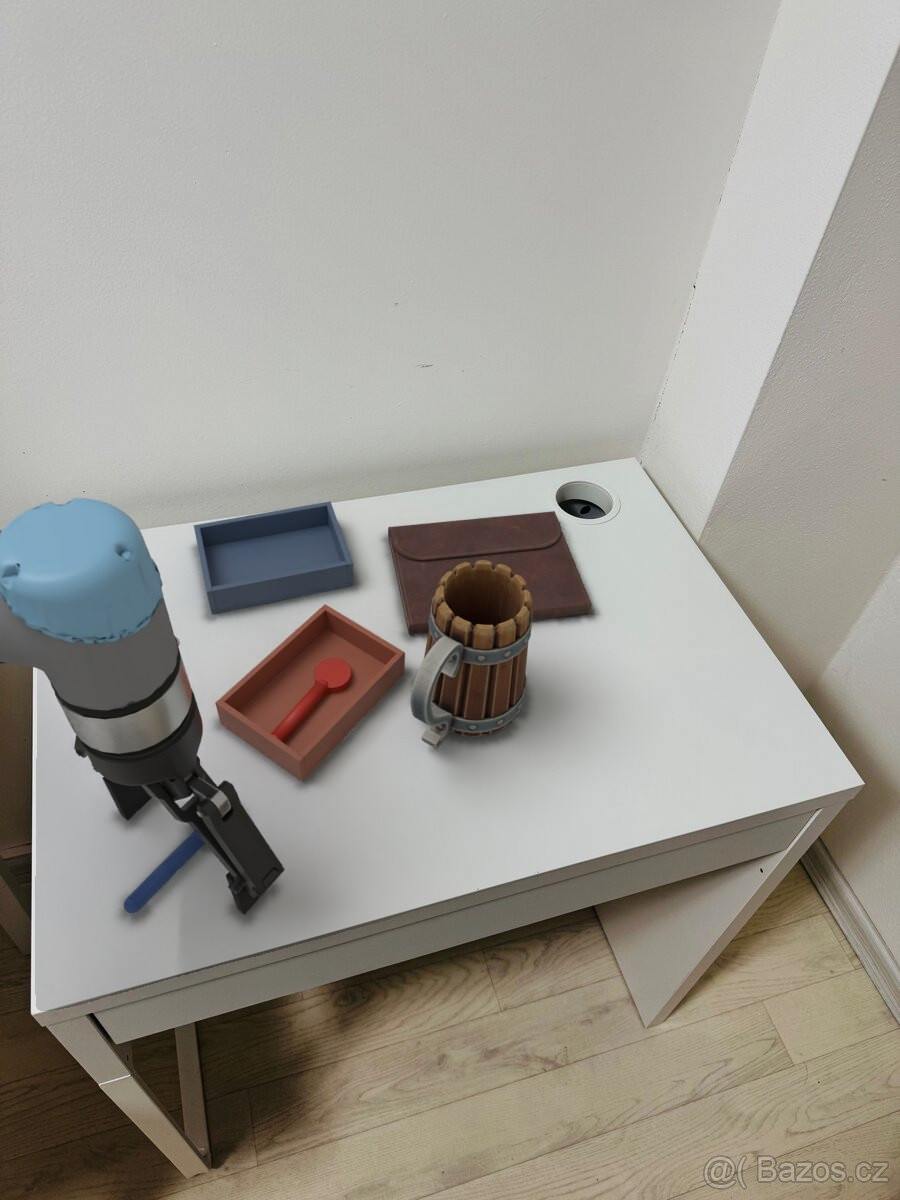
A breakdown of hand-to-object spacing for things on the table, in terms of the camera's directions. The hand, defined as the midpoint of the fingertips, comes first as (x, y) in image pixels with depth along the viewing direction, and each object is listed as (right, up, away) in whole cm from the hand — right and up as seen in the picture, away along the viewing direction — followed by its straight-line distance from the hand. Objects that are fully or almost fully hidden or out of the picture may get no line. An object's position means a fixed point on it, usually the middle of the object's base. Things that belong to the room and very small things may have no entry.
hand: (193, 851), depth 70 cm
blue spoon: (-1, -1, 0) cm, 1 cm away
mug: (+22, +10, +11) cm, 27 cm away
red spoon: (+8, +11, +10) cm, 17 cm away
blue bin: (+2, +25, +22) cm, 33 cm away
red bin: (+8, +12, +11) cm, 18 cm away
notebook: (+25, +24, +23) cm, 42 cm away
